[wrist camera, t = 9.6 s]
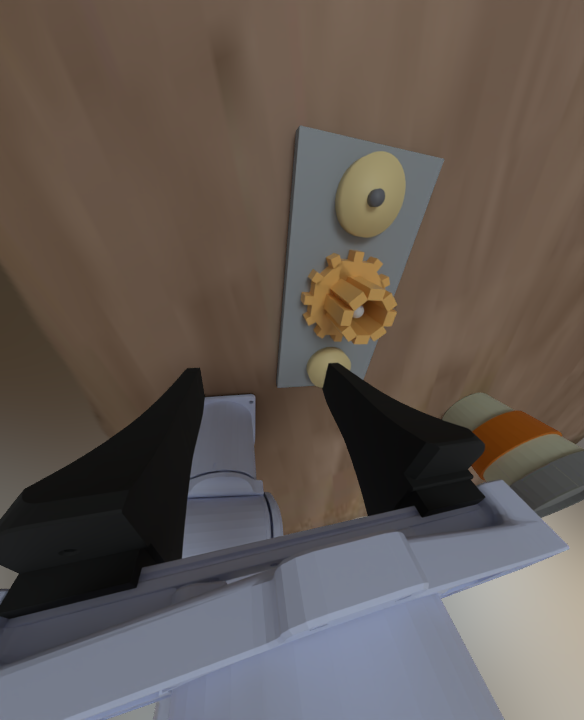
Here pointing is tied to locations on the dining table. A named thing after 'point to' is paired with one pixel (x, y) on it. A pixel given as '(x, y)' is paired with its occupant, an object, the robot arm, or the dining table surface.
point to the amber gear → (349, 299)
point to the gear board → (345, 235)
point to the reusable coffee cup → (522, 453)
